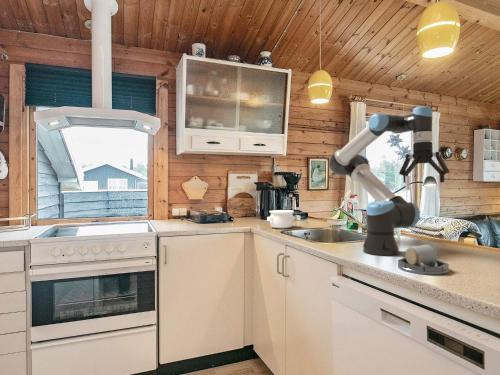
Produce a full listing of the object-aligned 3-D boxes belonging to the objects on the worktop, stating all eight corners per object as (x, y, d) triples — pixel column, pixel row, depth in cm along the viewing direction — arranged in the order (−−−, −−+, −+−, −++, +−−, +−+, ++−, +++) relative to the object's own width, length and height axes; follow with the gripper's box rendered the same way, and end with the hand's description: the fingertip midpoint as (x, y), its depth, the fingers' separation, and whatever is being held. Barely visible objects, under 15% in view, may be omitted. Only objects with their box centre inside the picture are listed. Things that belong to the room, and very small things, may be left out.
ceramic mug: (403, 263, 123) (403, 243, 123) (422, 262, 125) (422, 242, 125) (423, 271, 113) (423, 250, 113) (444, 270, 115) (444, 248, 114)
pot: (273, 230, 223) (272, 212, 223) (262, 227, 239) (262, 210, 239) (301, 228, 231) (300, 211, 231) (289, 225, 247) (289, 209, 247)
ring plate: (390, 268, 121) (390, 262, 121) (408, 261, 132) (408, 255, 132) (439, 278, 108) (439, 270, 108) (454, 268, 120) (454, 261, 120)
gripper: (391, 144, 151) (391, 190, 151) (450, 138, 131) (451, 190, 131) (398, 145, 155) (399, 189, 155) (457, 139, 136) (458, 190, 136)
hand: (423, 190), depth 143 cm, fingers open, 13 cm apart
